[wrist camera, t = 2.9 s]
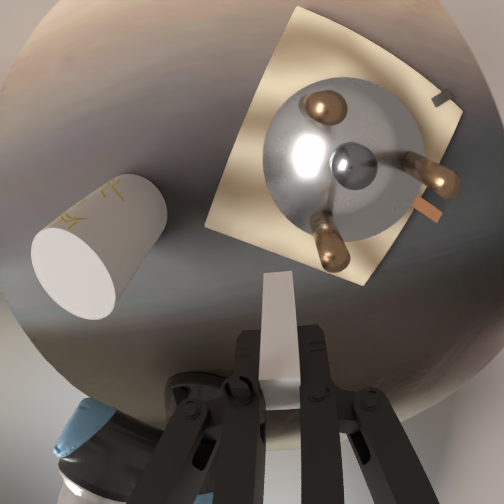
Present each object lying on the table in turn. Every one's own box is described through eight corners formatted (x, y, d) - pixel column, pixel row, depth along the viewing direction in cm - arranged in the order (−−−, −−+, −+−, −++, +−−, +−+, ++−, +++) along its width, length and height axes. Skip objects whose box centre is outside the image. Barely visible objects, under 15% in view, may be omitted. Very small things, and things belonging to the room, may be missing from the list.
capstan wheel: (398, 265, 26) (427, 315, 20) (238, 198, 24) (226, 241, 17) (463, 155, 19) (514, 181, 13) (302, 50, 17) (320, 26, 10)
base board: (359, 277, 30) (363, 287, 28) (207, 219, 27) (203, 228, 25) (456, 104, 18) (466, 106, 17) (297, 5, 16) (300, -1, 14)
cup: (138, 158, 24) (62, 206, 14) (182, 224, 27) (137, 303, 17) (89, 199, 26) (19, 256, 16) (129, 255, 30) (79, 328, 19)
